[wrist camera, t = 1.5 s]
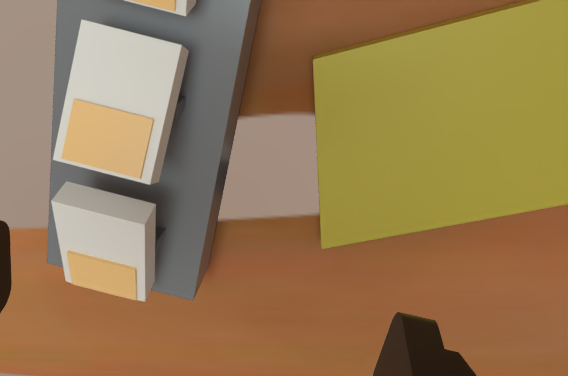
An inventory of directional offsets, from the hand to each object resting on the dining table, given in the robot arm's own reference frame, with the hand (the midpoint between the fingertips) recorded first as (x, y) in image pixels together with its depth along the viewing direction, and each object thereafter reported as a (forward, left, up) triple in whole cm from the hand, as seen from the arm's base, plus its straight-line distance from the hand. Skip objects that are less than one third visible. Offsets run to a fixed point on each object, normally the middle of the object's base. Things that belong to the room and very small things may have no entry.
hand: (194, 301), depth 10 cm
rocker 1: (+2, -8, -16) cm, 18 cm away
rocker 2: (+10, -8, -16) cm, 20 cm away
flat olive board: (-1, +12, -23) cm, 26 cm away
